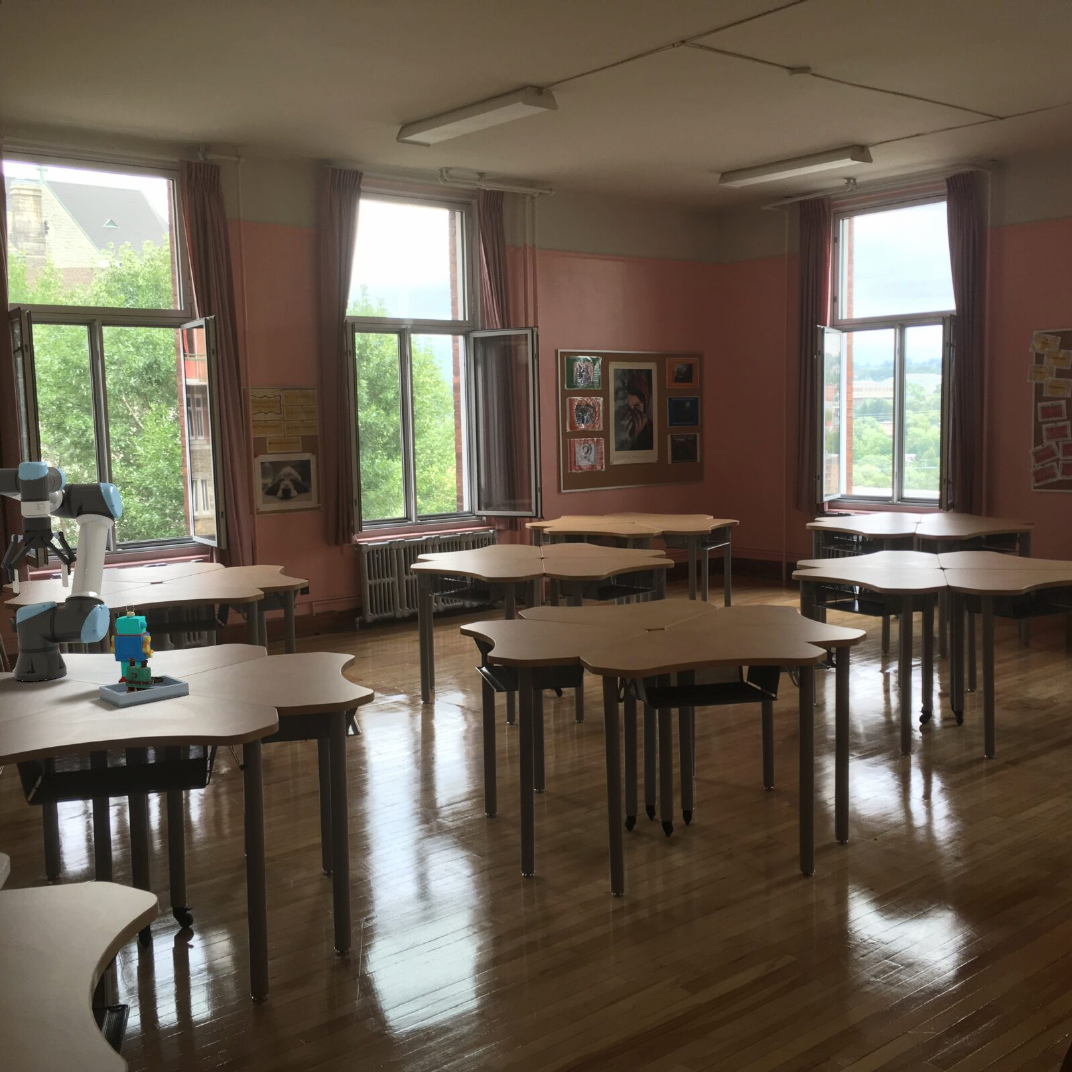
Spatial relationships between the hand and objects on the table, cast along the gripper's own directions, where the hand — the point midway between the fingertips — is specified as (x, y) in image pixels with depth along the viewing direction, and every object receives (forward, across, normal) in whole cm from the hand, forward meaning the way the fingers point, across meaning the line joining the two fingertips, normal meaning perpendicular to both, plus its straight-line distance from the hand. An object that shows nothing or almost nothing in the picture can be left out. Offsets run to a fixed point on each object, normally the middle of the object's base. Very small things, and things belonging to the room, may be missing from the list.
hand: (41, 589), depth 311 cm
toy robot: (+32, +24, -4) cm, 40 cm away
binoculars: (+31, +20, -20) cm, 42 cm away
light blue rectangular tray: (+32, +20, -20) cm, 42 cm away
